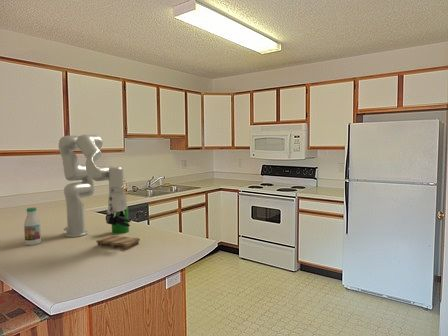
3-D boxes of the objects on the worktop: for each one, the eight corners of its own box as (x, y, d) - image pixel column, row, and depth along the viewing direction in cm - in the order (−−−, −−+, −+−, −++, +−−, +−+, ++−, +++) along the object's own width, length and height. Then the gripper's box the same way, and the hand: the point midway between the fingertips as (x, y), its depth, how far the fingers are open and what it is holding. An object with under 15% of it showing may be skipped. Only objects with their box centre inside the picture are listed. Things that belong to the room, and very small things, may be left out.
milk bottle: (26, 242, 184) (24, 207, 182) (42, 240, 186) (40, 206, 185) (23, 246, 176) (21, 209, 175) (39, 244, 179) (38, 208, 178)
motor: (124, 229, 211) (123, 198, 209) (132, 231, 205) (131, 199, 204) (109, 232, 203) (108, 200, 201) (117, 234, 197) (116, 202, 196)
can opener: (102, 224, 177) (102, 214, 177) (112, 221, 183) (112, 211, 183) (124, 228, 168) (124, 217, 167) (134, 225, 173) (134, 215, 173)
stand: (96, 245, 176) (96, 240, 175) (110, 240, 186) (110, 235, 186) (127, 249, 169) (127, 244, 168) (140, 243, 179) (139, 238, 179)
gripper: (111, 192, 166) (112, 227, 167) (132, 188, 182) (133, 220, 183) (99, 192, 168) (101, 226, 170) (121, 188, 185) (122, 219, 186)
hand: (117, 222), depth 176 cm, fingers closed on can opener, 6 cm apart
